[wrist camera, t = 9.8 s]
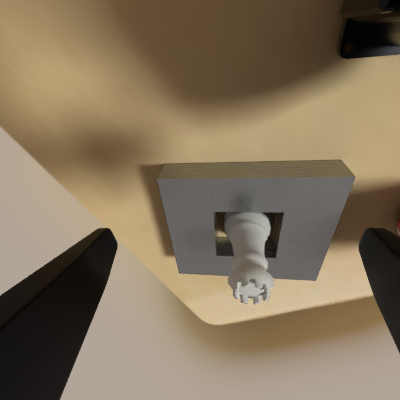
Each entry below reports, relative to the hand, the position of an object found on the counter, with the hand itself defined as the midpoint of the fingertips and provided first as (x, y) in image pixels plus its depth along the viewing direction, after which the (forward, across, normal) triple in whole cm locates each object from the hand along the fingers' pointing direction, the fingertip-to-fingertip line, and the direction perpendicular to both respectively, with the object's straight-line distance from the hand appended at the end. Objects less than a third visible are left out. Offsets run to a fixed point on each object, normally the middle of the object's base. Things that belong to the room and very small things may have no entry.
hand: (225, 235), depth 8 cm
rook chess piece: (+11, -1, +9) cm, 14 cm away
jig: (+11, -1, +9) cm, 14 cm away
